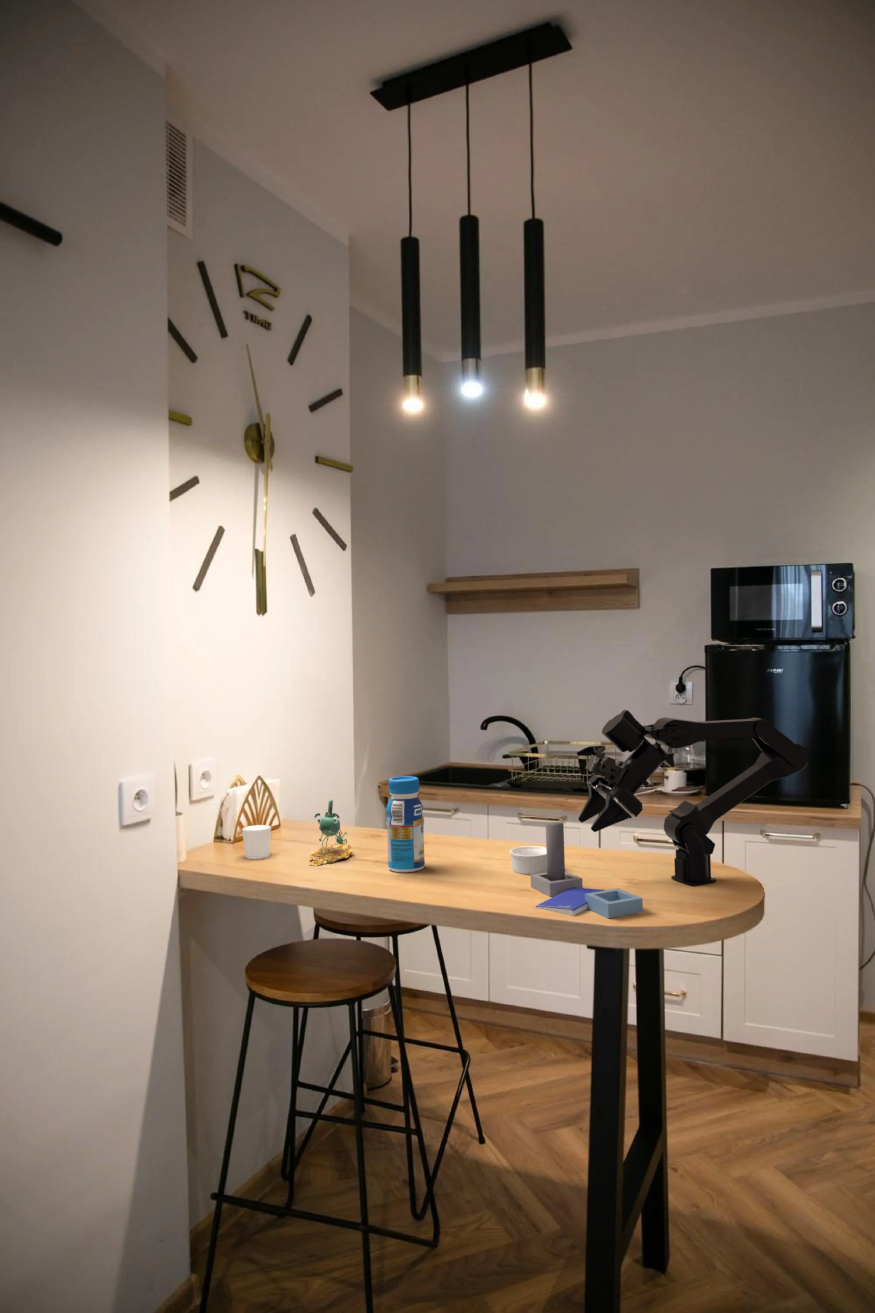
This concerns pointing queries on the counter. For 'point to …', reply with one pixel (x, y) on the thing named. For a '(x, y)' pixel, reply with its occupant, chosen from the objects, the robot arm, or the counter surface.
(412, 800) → the beverage bottle
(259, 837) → the white short cylinder
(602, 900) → the blue bezel
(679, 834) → the robot arm
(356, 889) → the counter surface
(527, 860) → the ramekin
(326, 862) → the frog figurine
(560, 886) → the grey square frame
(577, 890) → the blue book
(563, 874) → the plug
